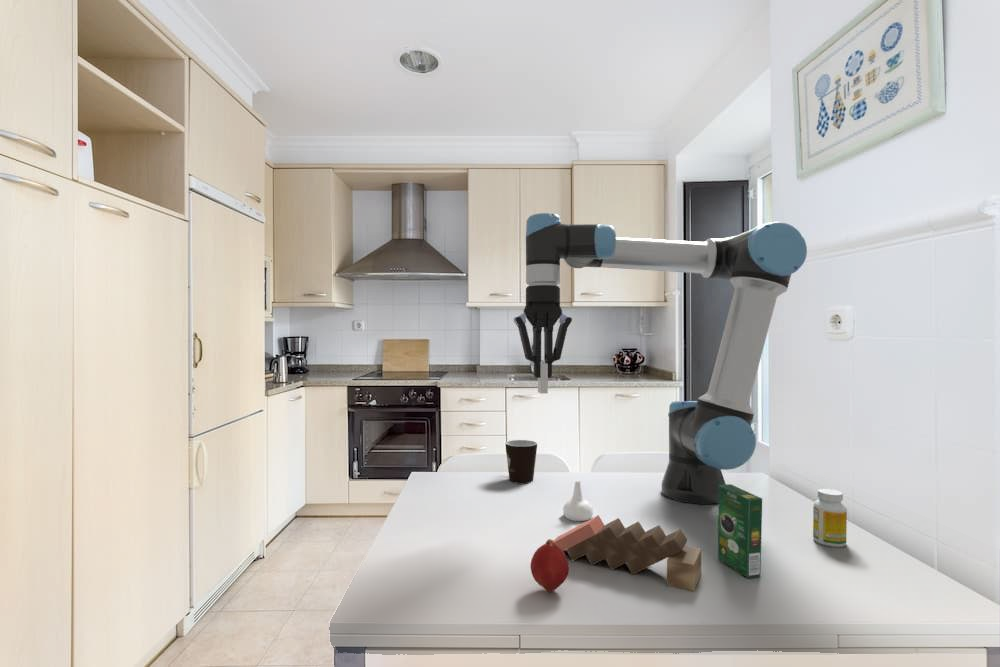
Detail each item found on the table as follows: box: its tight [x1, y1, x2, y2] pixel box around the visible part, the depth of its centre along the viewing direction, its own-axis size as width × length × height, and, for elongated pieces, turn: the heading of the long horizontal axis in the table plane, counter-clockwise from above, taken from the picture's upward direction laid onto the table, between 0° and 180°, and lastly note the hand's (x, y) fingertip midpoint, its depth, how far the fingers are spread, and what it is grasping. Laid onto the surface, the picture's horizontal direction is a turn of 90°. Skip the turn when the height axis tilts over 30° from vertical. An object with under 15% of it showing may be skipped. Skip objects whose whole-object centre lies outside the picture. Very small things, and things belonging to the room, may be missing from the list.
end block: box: [666, 545, 702, 592], centre depth 85 cm, size 4×7×4 cm, turn 151°
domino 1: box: [552, 514, 606, 552], centre depth 94 cm, size 2×5×10 cm
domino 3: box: [584, 521, 646, 566], centre depth 91 cm, size 2×5×10 cm
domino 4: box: [604, 524, 667, 571], centre depth 89 cm, size 2×5×10 cm
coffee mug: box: [505, 439, 538, 484], centre depth 145 cm, size 12×9×10 cm
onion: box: [530, 538, 570, 593], centre depth 81 cm, size 6×6×8 cm
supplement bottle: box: [812, 488, 848, 548], centre depth 101 cm, size 5×5×10 cm
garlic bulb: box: [562, 480, 594, 522], centre depth 115 cm, size 6×6×8 cm
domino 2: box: [565, 517, 626, 561], centre depth 93 cm, size 2×5×10 cm
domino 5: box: [625, 528, 688, 575], centre depth 87 cm, size 2×5×10 cm
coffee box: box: [717, 483, 763, 579], centre depth 89 cm, size 8×3×13 cm, turn 13°
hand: (542, 392), depth 117 cm, fingers closed
